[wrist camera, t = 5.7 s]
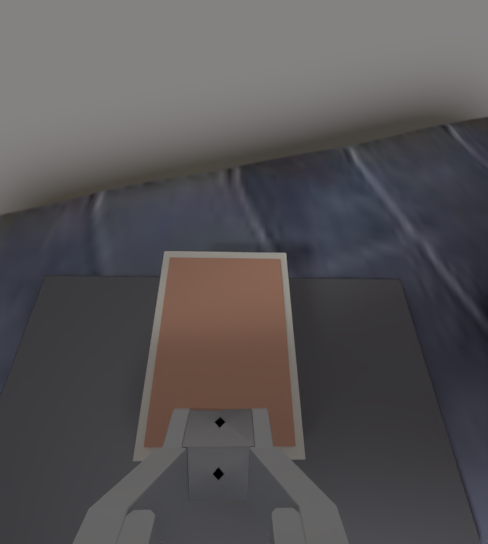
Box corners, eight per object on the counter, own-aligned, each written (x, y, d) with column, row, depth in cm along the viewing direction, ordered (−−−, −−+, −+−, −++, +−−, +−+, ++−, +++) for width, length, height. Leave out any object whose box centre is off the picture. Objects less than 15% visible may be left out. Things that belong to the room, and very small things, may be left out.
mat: (-53, 559, 12) (-62, 562, 12) (48, 278, 19) (45, 275, 19) (476, 548, 13) (483, 550, 13) (396, 282, 20) (400, 279, 19)
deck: (131, 461, 11) (164, 250, 16) (150, 459, 14) (173, 278, 19) (305, 459, 12) (286, 252, 16) (291, 458, 14) (278, 280, 19)
